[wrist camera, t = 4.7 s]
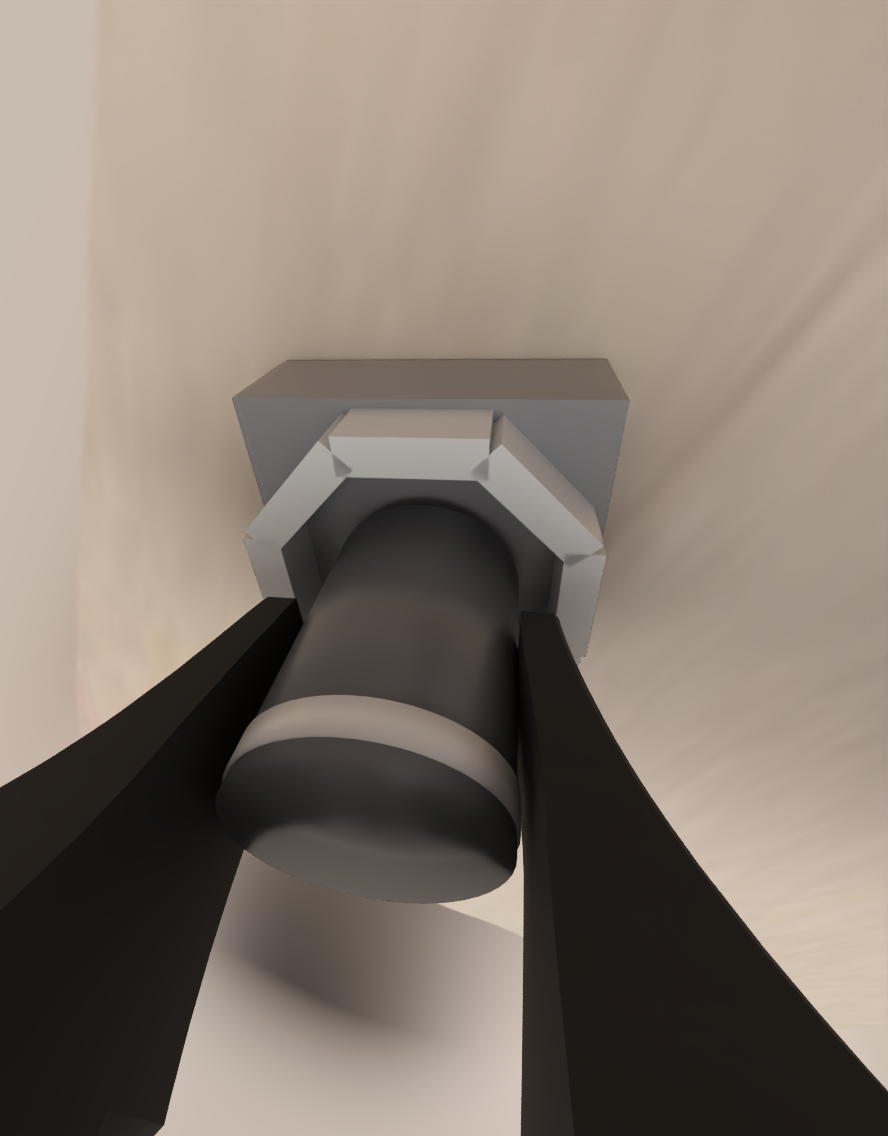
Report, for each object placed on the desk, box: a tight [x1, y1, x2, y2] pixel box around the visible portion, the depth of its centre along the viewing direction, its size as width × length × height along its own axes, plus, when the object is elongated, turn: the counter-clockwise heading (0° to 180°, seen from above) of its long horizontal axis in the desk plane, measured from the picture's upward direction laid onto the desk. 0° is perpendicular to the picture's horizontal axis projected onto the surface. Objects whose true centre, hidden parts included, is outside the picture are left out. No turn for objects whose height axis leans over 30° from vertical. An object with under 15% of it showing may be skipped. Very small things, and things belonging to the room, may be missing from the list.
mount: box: [232, 359, 629, 664], centre depth 13 cm, size 8×8×4 cm
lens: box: [215, 505, 521, 904], centre depth 9 cm, size 4×4×6 cm
